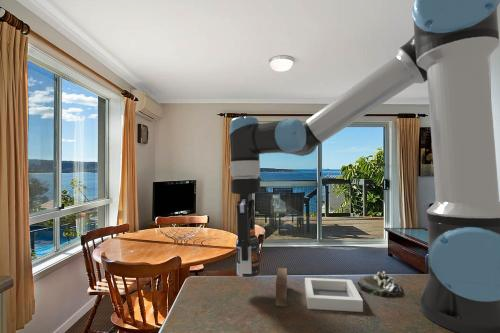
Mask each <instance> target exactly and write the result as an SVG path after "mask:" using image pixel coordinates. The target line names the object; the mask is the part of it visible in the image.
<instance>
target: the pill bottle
mask: <svg viewBox="0 0 500 333" xmlns="http://www.w3.org/2000/svg"><path fill="white" fill-rule="evenodd" d="M255 236H256V229H255V230H254V229H250V246H251V265H252V273H251V274H240V247H236V246H235V259H236V261H235V263H236V264H235V266H236V271H235V272H236V275H237V276H238V277H240V278H249V279H250V278H255V277H257V276H259V275H260V272H261V271H260V269H261V268H260V240H259V238H258V237H257V238H256V237H255ZM236 244H238V238H237V239H236V240H235V245H236Z"/></svg>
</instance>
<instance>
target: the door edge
mask: <svg viewBox="0 0 500 333" xmlns="http://www.w3.org/2000/svg"><path fill="white" fill-rule="evenodd" d="M276 270H277V273H276V279H275V280H276V281H275V306H276V307H287V298H288V295H287V294H288V293H287V291H288V278H287V277H288V275H287V274H288V273H287V272H288V271H287V270H288V268H287V267H277V269H276Z"/></svg>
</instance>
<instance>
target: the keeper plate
mask: <svg viewBox="0 0 500 333" xmlns="http://www.w3.org/2000/svg"><path fill="white" fill-rule="evenodd" d="M304 291H305V298H306V306H307V309H308V310H309V309H310V310H322V311H323V310H324V311H325V310H326V311H338V312H339V311H343V312H345V311H346V312H358V313H359V312H360V313H364V299H363V298H362V296H361V295H360V293H359V290H358V289H357V287H356V286H355V284H354V282H353V280H352V279H345V278H344V279H341V278H322V277H321V278H320V277H319V278H318V277H317V278H316V277H304Z"/></svg>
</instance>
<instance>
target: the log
mask: <svg viewBox="0 0 500 333" xmlns="http://www.w3.org/2000/svg"><path fill="white" fill-rule="evenodd" d="M357 285H358V287H359V289H360V291H362V292H364V293H366V294H368V295H372V296H377V297H379V298H387V299H388V298H389V299H391V298H401V297H402V296H403V291H402V290H403V289H402V288H401V285H400V284H398V283H396V279H395V278H393V277H392V276H389V275H388V274H386V271H384V270H383V271H382V272H380V271H377V273H376V274H374V275H367V276H366V275H365V276H364V277H361V278H360V279H359V280H358V281H357Z"/></svg>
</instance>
